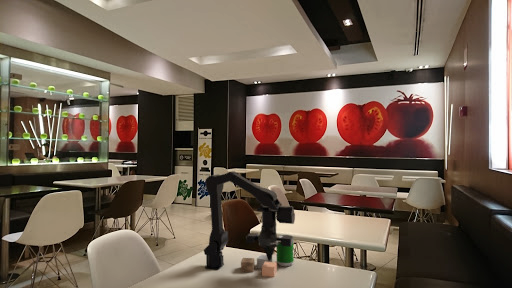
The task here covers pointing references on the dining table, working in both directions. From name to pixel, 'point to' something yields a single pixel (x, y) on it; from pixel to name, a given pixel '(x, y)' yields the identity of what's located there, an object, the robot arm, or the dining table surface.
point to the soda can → (285, 254)
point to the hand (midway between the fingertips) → (269, 260)
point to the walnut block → (247, 265)
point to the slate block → (262, 260)
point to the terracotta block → (269, 269)
